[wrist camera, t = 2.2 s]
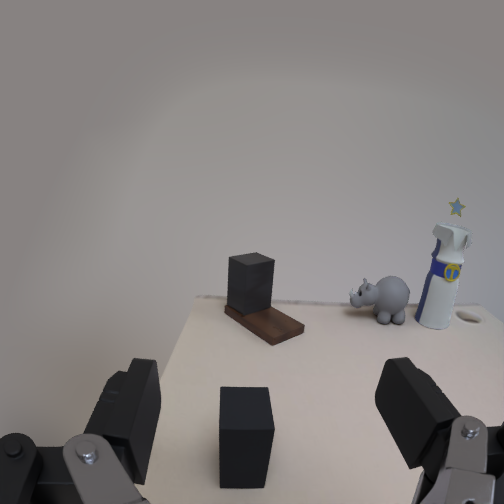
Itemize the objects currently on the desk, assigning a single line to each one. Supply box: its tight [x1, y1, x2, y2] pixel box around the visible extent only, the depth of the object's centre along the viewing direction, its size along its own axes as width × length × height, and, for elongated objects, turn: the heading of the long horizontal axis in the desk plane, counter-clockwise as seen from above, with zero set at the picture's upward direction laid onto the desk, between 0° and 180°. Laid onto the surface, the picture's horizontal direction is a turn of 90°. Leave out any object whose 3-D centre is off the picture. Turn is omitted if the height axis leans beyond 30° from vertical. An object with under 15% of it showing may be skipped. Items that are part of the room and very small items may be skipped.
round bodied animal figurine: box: [350, 276, 410, 324], centre depth 57 cm, size 7×12×8 cm, turn 84°
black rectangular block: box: [219, 387, 275, 488], centre depth 24 cm, size 4×5×9 cm
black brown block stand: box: [225, 252, 305, 346], centre depth 53 cm, size 7×13×10 cm, turn 38°
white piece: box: [415, 198, 472, 329], centre depth 53 cm, size 8×9×25 cm
